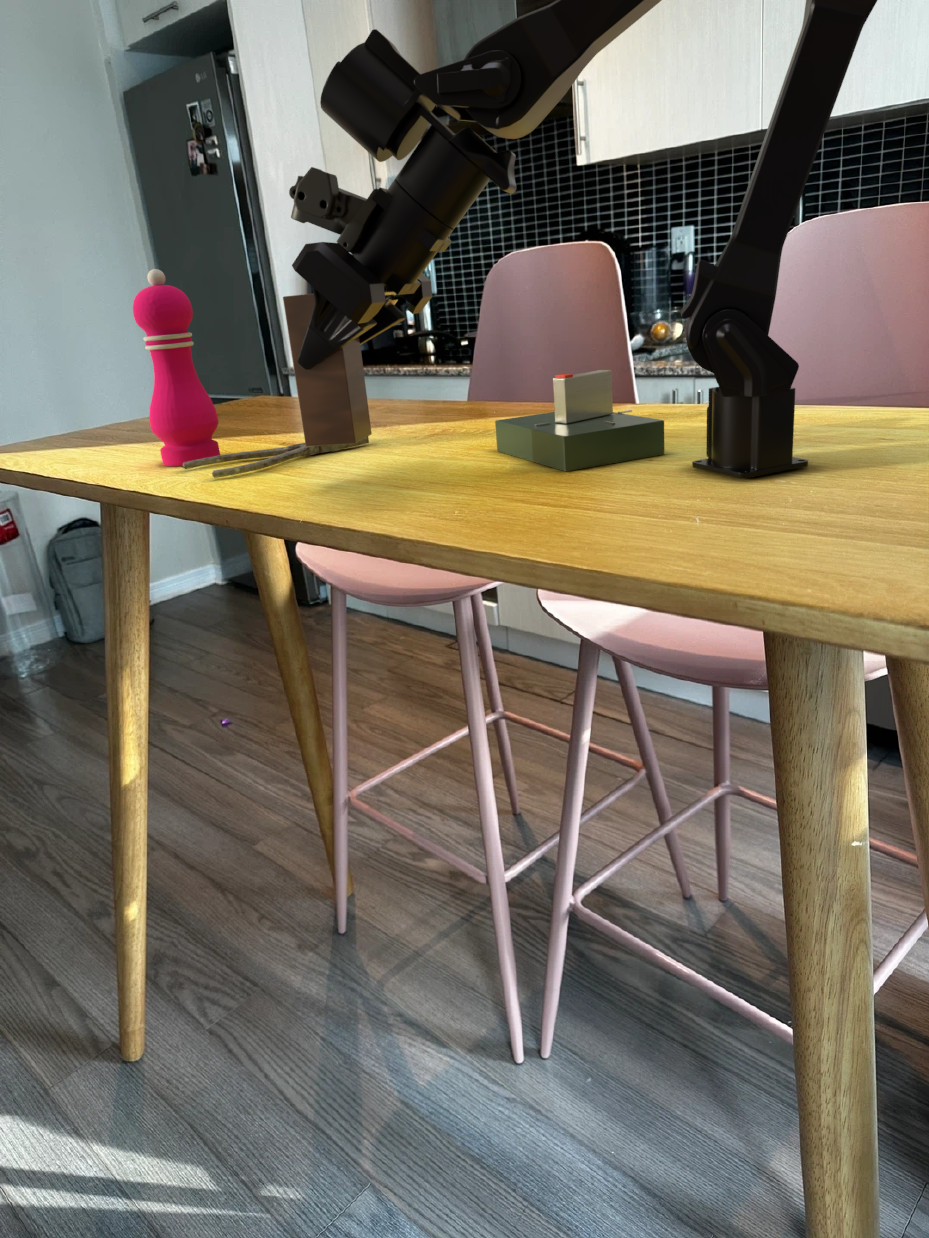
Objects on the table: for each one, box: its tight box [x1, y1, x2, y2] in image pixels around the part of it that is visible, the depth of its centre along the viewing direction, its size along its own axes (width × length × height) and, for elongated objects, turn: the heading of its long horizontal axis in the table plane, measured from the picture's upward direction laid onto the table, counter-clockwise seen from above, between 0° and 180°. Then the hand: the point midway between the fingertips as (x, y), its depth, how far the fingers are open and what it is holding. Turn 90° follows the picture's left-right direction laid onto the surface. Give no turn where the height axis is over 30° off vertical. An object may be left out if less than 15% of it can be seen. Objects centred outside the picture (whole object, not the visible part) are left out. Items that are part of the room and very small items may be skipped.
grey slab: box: [552, 369, 614, 424], centre depth 81 cm, size 6×2×4 cm, turn 127°
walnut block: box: [282, 293, 373, 446], centre depth 74 cm, size 4×4×12 cm
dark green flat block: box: [494, 409, 665, 472], centre depth 83 cm, size 14×11×3 cm
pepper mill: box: [132, 268, 221, 467], centre depth 95 cm, size 7×7×20 cm
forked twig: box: [182, 436, 370, 479], centre depth 95 cm, size 10×1×20 cm
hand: (313, 363), depth 74 cm, fingers closed on walnut block, 4 cm apart
